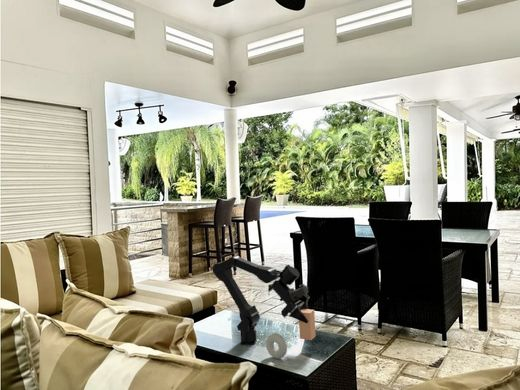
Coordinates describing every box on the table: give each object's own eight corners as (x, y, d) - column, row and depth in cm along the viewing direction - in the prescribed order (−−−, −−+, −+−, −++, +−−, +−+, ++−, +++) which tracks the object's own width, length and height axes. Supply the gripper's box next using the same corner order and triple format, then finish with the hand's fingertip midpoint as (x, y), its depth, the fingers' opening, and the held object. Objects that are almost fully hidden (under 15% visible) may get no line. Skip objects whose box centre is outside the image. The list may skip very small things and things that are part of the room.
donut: (264, 357, 163) (263, 332, 163) (270, 354, 165) (268, 329, 165) (284, 362, 156) (282, 336, 156) (289, 359, 159) (288, 334, 159)
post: (299, 338, 166) (298, 312, 166) (304, 334, 170) (303, 308, 170) (311, 340, 163) (309, 313, 163) (315, 336, 168) (314, 309, 168)
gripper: (286, 284, 161) (314, 314, 155) (304, 275, 177) (329, 302, 172) (270, 302, 164) (296, 332, 159) (289, 291, 181) (313, 318, 175)
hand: (309, 320), depth 166 cm, fingers closed on post, 5 cm apart
